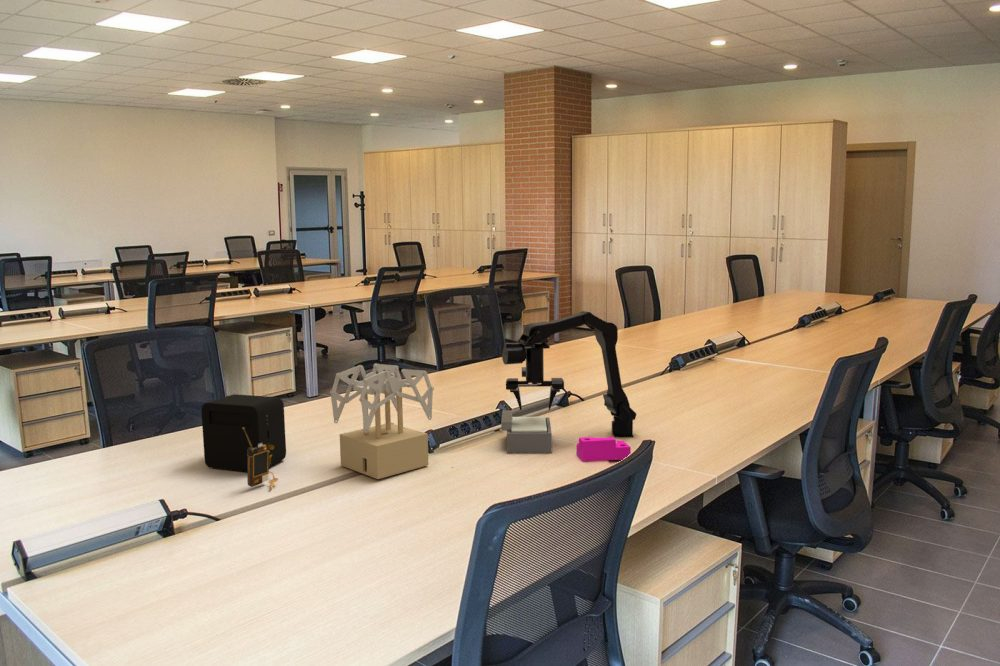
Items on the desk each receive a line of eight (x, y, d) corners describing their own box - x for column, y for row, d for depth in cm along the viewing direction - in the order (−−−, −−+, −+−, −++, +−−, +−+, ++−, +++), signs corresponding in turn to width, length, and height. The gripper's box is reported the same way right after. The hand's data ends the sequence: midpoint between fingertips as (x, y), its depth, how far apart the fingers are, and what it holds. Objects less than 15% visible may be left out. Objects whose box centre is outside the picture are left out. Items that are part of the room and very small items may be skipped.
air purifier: (290, 459, 239) (287, 396, 236) (261, 473, 225) (257, 406, 223) (235, 454, 245) (232, 392, 243) (204, 467, 232) (200, 402, 229)
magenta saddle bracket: (582, 441, 232) (576, 435, 239) (582, 461, 232) (576, 454, 240) (630, 438, 234) (623, 432, 241) (630, 458, 235) (622, 452, 242)
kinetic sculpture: (368, 481, 216) (365, 376, 213) (330, 467, 231) (325, 368, 227) (436, 462, 233) (434, 365, 230) (396, 450, 248) (393, 357, 244)
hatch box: (549, 435, 263) (549, 417, 262) (551, 453, 242) (551, 433, 241) (508, 435, 263) (508, 417, 262) (507, 453, 242) (506, 433, 241)
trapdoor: (545, 418, 260) (545, 409, 260) (547, 432, 242) (546, 422, 242) (502, 418, 261) (502, 409, 261) (501, 432, 243) (501, 422, 243)
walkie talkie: (253, 494, 207) (249, 429, 205) (224, 485, 215) (220, 422, 213) (292, 481, 218) (289, 419, 215) (264, 473, 225) (261, 413, 223)
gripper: (562, 358, 257) (562, 404, 259) (506, 358, 257) (506, 404, 259) (564, 363, 246) (564, 411, 248) (505, 364, 246) (506, 412, 248)
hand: (535, 409), depth 251 cm, fingers open, 9 cm apart
